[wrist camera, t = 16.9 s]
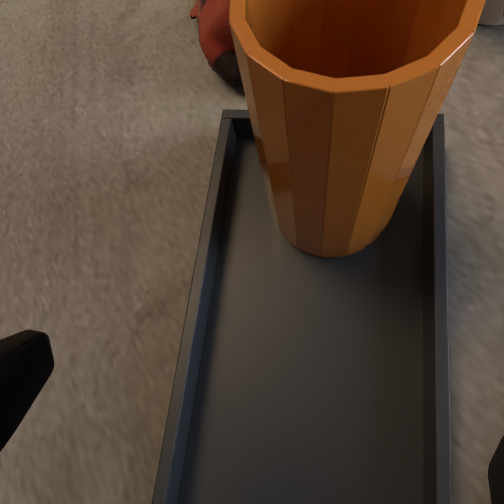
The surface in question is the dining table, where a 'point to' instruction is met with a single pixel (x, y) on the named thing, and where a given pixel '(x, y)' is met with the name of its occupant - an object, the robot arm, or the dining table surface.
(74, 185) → the dining table surface
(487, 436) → the dining table surface
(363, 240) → the tumbler
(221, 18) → the stuffed fox
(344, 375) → the tray
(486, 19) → the cup
